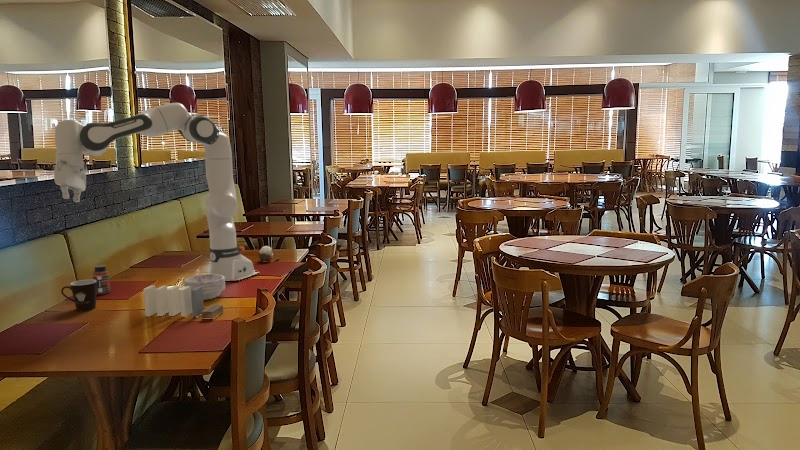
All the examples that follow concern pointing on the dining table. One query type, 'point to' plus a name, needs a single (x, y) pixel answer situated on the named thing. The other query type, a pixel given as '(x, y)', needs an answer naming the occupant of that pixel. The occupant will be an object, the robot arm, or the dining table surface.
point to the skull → (266, 254)
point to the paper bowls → (207, 284)
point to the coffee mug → (83, 294)
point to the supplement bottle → (101, 279)
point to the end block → (212, 311)
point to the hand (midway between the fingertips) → (71, 200)
